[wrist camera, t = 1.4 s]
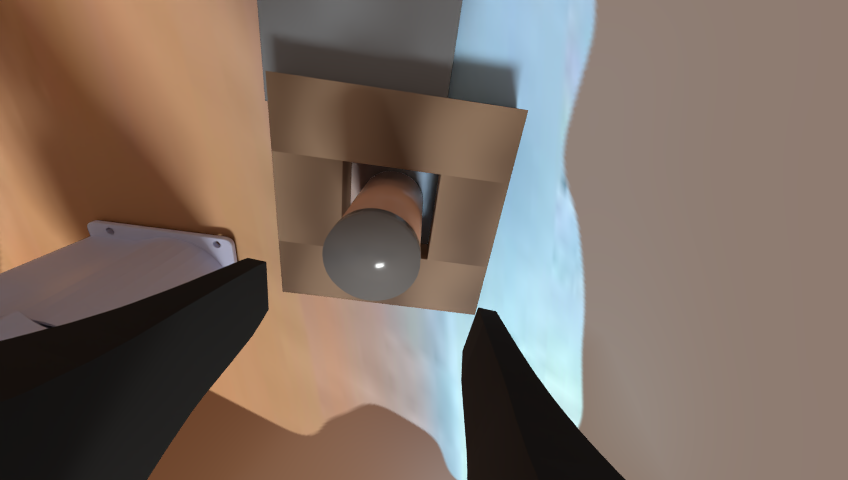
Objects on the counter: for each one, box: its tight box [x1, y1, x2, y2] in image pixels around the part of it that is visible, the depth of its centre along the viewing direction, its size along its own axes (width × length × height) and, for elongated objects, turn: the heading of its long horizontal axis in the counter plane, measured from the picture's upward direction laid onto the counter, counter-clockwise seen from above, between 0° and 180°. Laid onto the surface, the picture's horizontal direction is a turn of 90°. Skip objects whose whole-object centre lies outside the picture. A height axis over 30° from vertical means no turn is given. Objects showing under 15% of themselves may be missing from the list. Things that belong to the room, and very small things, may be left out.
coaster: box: [257, 0, 462, 101], centre depth 15 cm, size 10×10×1 cm
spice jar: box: [322, 171, 423, 301], centre depth 16 cm, size 4×4×8 cm
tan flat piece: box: [265, 71, 528, 315], centre depth 19 cm, size 13×13×2 cm
